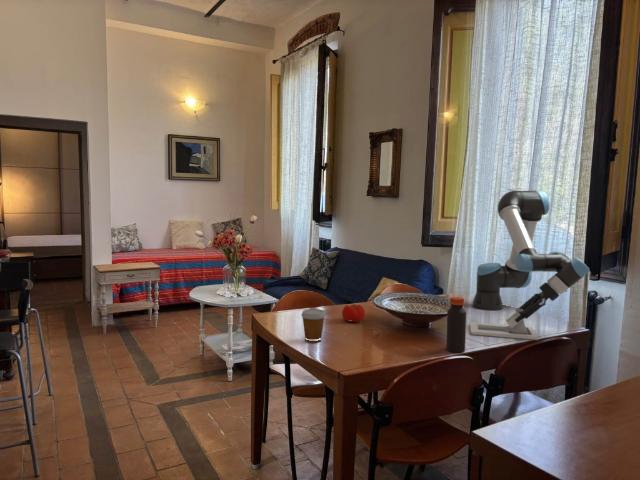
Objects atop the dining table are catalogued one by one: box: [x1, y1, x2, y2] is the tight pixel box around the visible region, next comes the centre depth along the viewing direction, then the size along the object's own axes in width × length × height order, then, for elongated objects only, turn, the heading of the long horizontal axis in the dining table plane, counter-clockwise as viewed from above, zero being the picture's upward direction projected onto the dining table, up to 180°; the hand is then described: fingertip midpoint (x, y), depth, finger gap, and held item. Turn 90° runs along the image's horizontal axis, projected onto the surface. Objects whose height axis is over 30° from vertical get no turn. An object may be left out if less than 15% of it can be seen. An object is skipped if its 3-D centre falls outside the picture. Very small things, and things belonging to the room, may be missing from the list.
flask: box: [510, 308, 527, 334], centre depth 196 cm, size 7×7×10 cm
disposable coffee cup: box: [301, 308, 326, 344], centre depth 184 cm, size 10×10×12 cm
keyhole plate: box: [469, 321, 540, 341], centre depth 198 cm, size 16×26×2 cm, turn 74°
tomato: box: [341, 303, 366, 323], centre depth 215 cm, size 11×11×8 cm
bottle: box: [445, 296, 467, 354], centre depth 173 cm, size 7×7×20 cm
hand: (508, 324), depth 197 cm, fingers closed on flask, 4 cm apart
